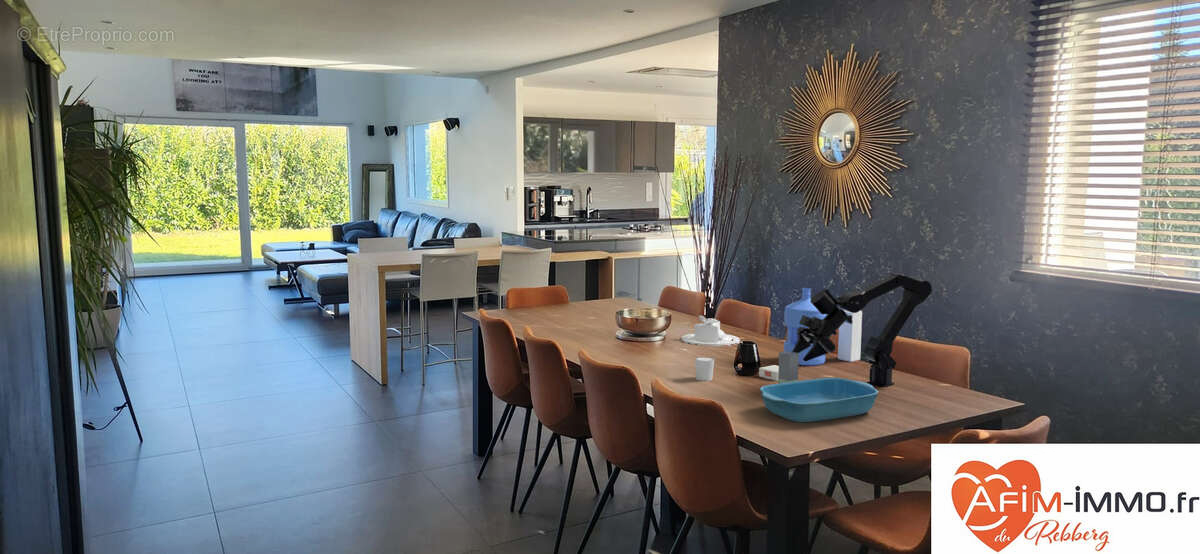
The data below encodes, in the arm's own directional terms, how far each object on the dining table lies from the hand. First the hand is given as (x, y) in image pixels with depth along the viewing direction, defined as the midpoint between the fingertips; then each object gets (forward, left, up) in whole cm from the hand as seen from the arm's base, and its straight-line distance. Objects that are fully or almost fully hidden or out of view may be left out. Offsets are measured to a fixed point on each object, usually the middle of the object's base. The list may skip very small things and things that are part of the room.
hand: (798, 357), depth 269 cm
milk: (+16, -51, -10) cm, 55 cm away
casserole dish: (-22, +17, -11) cm, 29 cm away
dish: (+75, -35, -11) cm, 84 cm away
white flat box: (+14, -6, -10) cm, 19 cm away
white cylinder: (+27, +16, -10) cm, 33 cm away
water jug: (+24, -34, -10) cm, 43 cm away
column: (+1, +3, -10) cm, 11 cm away
